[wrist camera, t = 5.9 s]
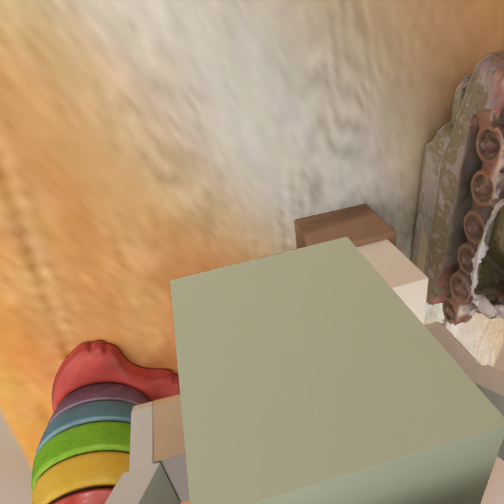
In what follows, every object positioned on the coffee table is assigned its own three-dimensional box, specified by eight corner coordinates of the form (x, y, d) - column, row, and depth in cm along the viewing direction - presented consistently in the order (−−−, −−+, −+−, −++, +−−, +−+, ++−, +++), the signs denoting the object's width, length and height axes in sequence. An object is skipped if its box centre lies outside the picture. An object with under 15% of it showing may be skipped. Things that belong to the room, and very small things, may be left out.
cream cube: (321, 256, 28) (351, 299, 24) (387, 239, 29) (428, 278, 25) (325, 310, 31) (353, 357, 27) (385, 293, 31) (422, 336, 27)
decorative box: (348, 283, 37) (405, 361, 29) (383, 34, 26) (489, 44, 18) (474, 265, 39) (560, 332, 31) (552, 30, 29) (711, 38, 21)
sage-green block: (169, 280, 11) (191, 523, 6) (347, 236, 11) (508, 422, 6) (207, 398, 13) (244, 632, 8) (348, 358, 14) (462, 555, 9)
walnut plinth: (294, 219, 32) (316, 250, 28) (364, 203, 33) (396, 231, 29) (299, 279, 35) (319, 315, 31) (363, 263, 36) (391, 297, 32)
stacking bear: (190, 378, 38) (218, 611, 23) (127, 440, 41) (116, 686, 26) (87, 331, 33) (38, 595, 18) (22, 406, 36) (-68, 691, 21)
